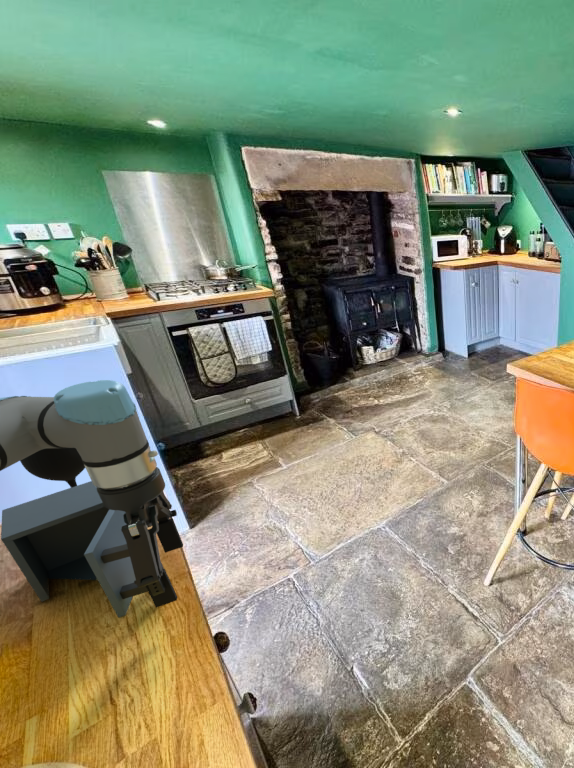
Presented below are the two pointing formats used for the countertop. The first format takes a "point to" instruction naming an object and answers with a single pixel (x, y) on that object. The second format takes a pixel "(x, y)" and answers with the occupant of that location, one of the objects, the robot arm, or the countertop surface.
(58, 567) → the cupboard
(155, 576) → the robot arm
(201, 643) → the countertop surface
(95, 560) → the cupboard door
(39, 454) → the wine glass
